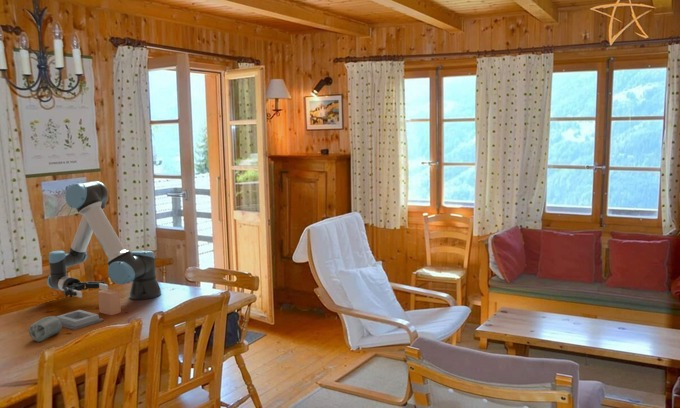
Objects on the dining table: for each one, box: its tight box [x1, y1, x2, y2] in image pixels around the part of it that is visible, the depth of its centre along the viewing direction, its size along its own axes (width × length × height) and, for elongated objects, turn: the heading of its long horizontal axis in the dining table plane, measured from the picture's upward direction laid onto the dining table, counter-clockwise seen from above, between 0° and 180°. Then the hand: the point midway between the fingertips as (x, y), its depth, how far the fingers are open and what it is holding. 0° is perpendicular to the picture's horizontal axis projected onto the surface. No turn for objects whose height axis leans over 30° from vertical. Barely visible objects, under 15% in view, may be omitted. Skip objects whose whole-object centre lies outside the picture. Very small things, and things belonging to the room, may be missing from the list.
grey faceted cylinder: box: [28, 315, 63, 343], centre depth 241 cm, size 14×10×10 cm
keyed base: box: [55, 309, 104, 331], centre depth 260 cm, size 14×17×3 cm
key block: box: [97, 288, 122, 316], centre depth 273 cm, size 5×9×10 cm, turn 55°
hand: (94, 291), depth 278 cm, fingers open, 13 cm apart
